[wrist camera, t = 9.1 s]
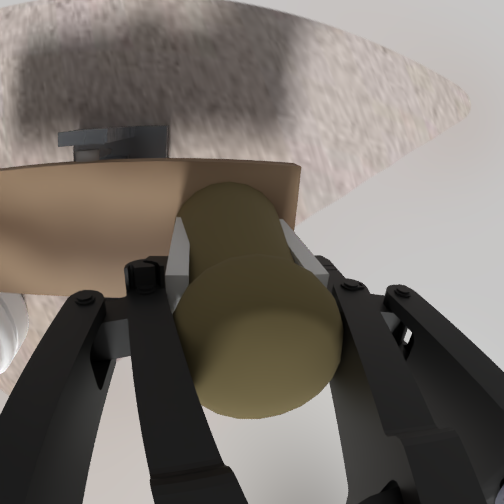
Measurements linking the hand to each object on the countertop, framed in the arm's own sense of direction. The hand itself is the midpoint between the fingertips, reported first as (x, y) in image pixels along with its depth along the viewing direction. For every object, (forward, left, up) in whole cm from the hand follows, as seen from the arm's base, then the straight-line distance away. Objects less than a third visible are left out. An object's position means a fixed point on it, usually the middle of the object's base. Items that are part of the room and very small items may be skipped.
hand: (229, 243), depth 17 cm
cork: (0, 0, -1) cm, 1 cm away
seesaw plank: (0, -8, -3) cm, 9 cm away
